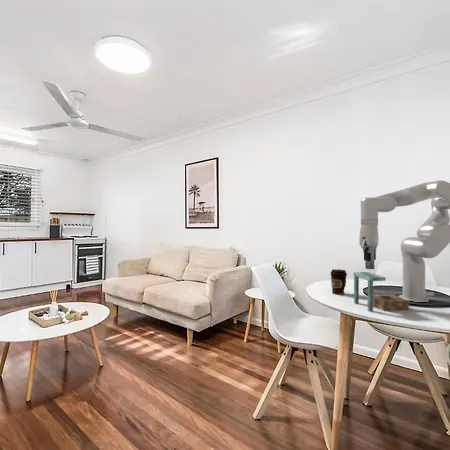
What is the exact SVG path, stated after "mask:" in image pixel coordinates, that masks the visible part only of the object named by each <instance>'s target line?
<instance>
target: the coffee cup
mask: <svg viewBox="0 0 450 450" xmlns="http://www.w3.org/2000/svg"><path fill="white" fill-rule="evenodd" d="M347 276H348V273H347V270H345V269H335V268H334V269H331V271H330V282H331V283H330V284H331V285H330V286H331V290H332V291H331V292H332V294H334V295H338V296H339V295H340V296H343V295H346V294H345V288H346V285H347Z"/></svg>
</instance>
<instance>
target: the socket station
mask: <svg viewBox="0 0 450 450" xmlns="http://www.w3.org/2000/svg"><path fill="white" fill-rule="evenodd" d="M360 279H363V280H366V281H367V311H368V312H374V307H375V308H378V309H380V310H381V311H409V310H410V309H409V308H410V302H409V301H408V300H405V299H402V298H400V297H399V296H397V295H395V294H392V293H382V294H381V293H380V294H378V293H377V294H374V282H384V281H385V282H386V277H385V276H382V275H379V274H376V273H372V272H371V271H357V272H356V271H355V272H353V303H354V304H355V305H358V304H359V302H360V301H359V300H360V299H359V296H360V294H359V293H360V292H359V291H360V288H359V286H360Z"/></svg>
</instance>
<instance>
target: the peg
mask: <svg viewBox="0 0 450 450" xmlns="http://www.w3.org/2000/svg"><path fill="white" fill-rule="evenodd" d="M366 246H368V245H366ZM367 249H368V247H367ZM370 253H371V261H365V260H364V261H365V262H364V263H365V264H364V265H365V269H366V270H375V267H376V265H375V260H374V245H373V246H370Z"/></svg>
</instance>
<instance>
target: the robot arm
mask: <svg viewBox="0 0 450 450" xmlns="http://www.w3.org/2000/svg"><path fill="white" fill-rule="evenodd" d="M430 199H431V200H430ZM427 200H430V205H431V215H430V216H429V217H428V218H427V219H426V220H425V221H424V222H423V223H422V224H421V225H420V227H418V229H417V231H416V236H409V237H405V238H404V239H402V241H401V243H400V252H401V257H402V294H399V295H398V297H400V298H402V299H405V300H408V301H414V302H413V303H415V302H427V303H429V302H428V301H430V299H429V298H428V297H435V293H434V292H433V291H432V292H431V291H430V292H428V291H426V263H425V260H424V259H433V258H434V259H435V258H436V257H438V256H439V255H440V254H441V253H442V252H443V250H444V249H446V248H447V247H448V245H449V244H450V214H449V210H450V182H448V181H445V180H434V181H426V182H423V183H420V184H417V185H414V186H410V187H406V188H402V189H399V190H396V191H393V192H389V193H385V194H381V195H378V196H375V197H363V198H361V199H360V229H359V242H358V243H359V246H360V248H361V249H362V252H363V261H371V253H370V246H373V245H374V261H376V259H377V248H378V246H379V240H380V238H379V229H378V226H379V213H390V212H392V211H394V210H395V209H396V208H397V207H398V208H399V207H405V206H410V205H414V204H418V203H420V202H424V201H427ZM366 245H368V246H366ZM367 247H368V249H367Z"/></svg>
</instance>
